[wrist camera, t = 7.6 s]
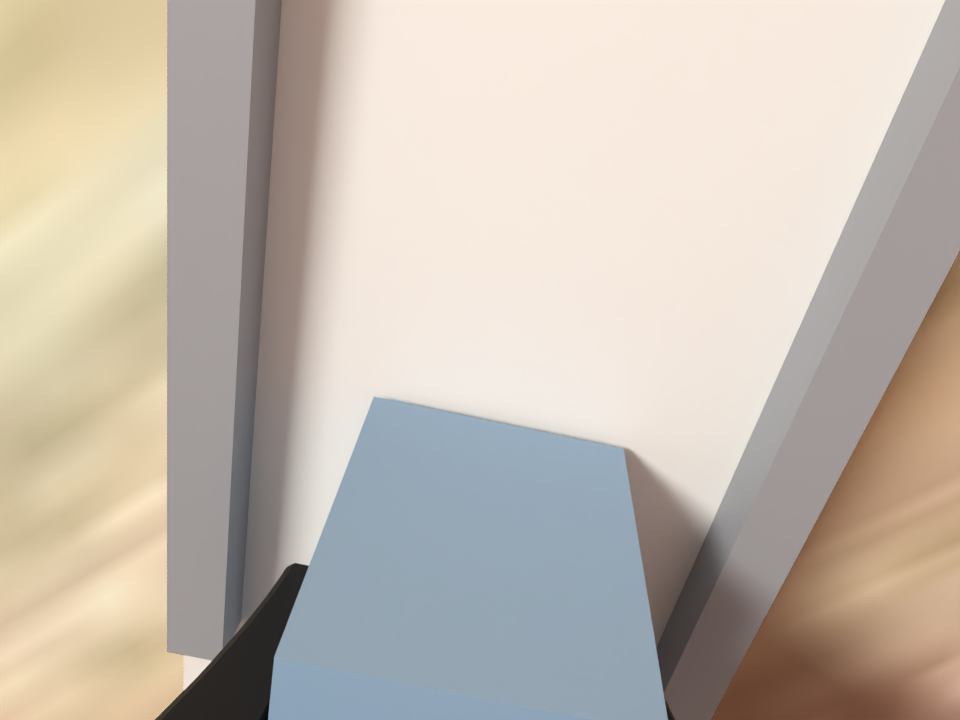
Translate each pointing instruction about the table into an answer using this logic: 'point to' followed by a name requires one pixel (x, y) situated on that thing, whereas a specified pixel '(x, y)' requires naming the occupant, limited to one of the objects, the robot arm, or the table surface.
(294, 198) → the rail board
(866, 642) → the table surface
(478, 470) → the block
